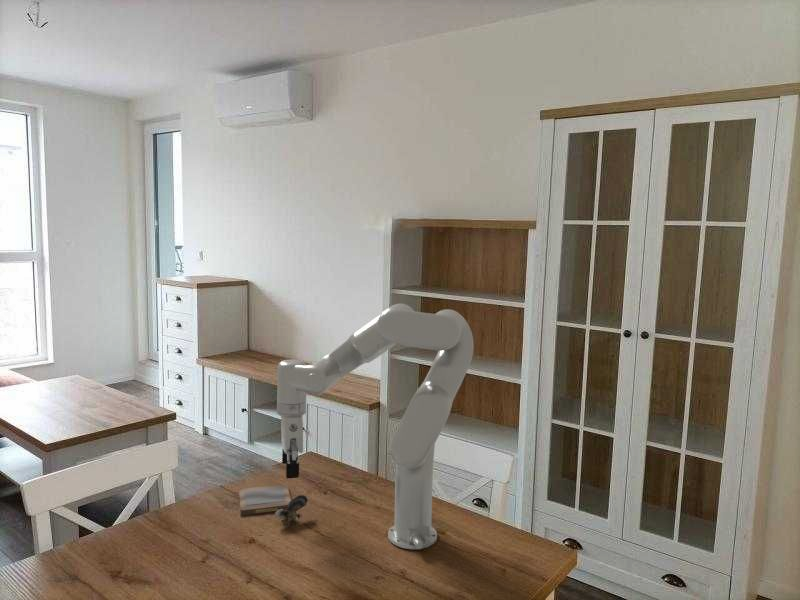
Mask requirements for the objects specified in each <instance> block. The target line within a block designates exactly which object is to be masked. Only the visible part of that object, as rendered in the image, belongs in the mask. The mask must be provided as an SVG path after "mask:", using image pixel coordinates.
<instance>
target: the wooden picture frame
mask: <svg viewBox="0 0 800 600" xmlns="http://www.w3.org/2000/svg"><path fill="white" fill-rule="evenodd" d="M238 495H239V496H238V497H239V498H238V499H239V510H240V511H239V512H240V516H249V515H257V514H267V513H275V512H276V511H278V510H280V509H284V510H287V508H288V505H289V502H290V501H292V498H291V493H290V491H289V487H288V484H287V483H283V484H275V485H265V486H255V487H254V486H253V487H244V488H239V489H238Z"/></svg>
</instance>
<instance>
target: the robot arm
mask: <svg viewBox="0 0 800 600" xmlns="http://www.w3.org/2000/svg"><path fill="white" fill-rule="evenodd" d="M396 345H400V346H403V347H412V348H418V349H425V350H431V351H437V353H436V355H435V358H434V360H433V362H432V363H431V367H430V368H429V371H428V372H427V374H426V376H425V378H424V380H423V381H422V383H421V385H420V386H419V387H418V388H417V390H416V391H415V393H414V395H413V396H412V398H411V400H410V401H409V404H408V405H407V408H406V410H405V412H404V413H403V416H402V418H401V419H400V422H399V424H398V426H397V427H396V430H395V432H394V433H393V436H392V437H391V440H390V444H389V454H390V457H391V459H392V460H393V462H394V463H395V474H394V475H395V476H394V477H395V480H394V484H395V485H394V525H392V526H390V528H389V529H388V532H387V538H388V540H389V542H390V543H392V544H393V545H394V546H396V547H399V548H402V549H406V550H422V549H426V548H429V547H431V546H433V545H434V544H435V543H436V542H437V540H438V532H437V530H436V529H435V528H434V527H433V526H432V519H433V518H432V510H433V481H434V460H435V459H434V457H435V449H436V448H435V444H436V442H437V440H438V438H439V437H440V434H441V432H442V430H443V429H444V426H445V424H446V423H447V420H448V418H449V416H450V413H451V410H452V407H453V402H454V400H455V398H456V395H457V393H458V391H459V389H460V387H461V385H462V383H463V381H464V378H465V376H466V374H467V372H468V371H469V368H470V365H471V363H472V360H473V354H474V349H475V348H474V337H473V333H472V330H471V328H470V324H469V323H468V322H467V320H466V318H464V317H463V315H461V314H460V313H459V312H458V311H456V310H453V309H450V308H449V309H447V308H446V309H441V310H440V311H437V312H436V313H428V312H422V311H421V312H420V311H416V310H414V308H413V307H411V306H410V305H408V304H406V303H396V304H393V305H391V306H389V307H388V308H386V309H385V310H383V311H382V312H381V313H380V314H378V315H377V316H376V317H374V318H373V319H371V320H369V321H368V322H367V323H366V324H364V325H363V326H361V327H360V328H358V329H357V330H356V331H354V332H352V334H350V336H349V338H347V340H346V341H344V342H343V343H342V344H341V345H339V346H337V347H336V348H335V349H334V350H332V351H331V352H329V353H328V354H327V355H325V356H323V357H322V358H320V359H319V360H317V361H316V362H314V363H311V364H307V363H306V361H303V360H300V359H295V358H294V359H291V358H290V359H283V360H281V361H280V362H279V363H278V365H277V372H276V373H277V383H276V385H277V386H276V389H277V390H276V414H277V415H278V416H281V417H280V435H281V439H280V440H281V445H282V449H281V450H282V454H281V456H282V457H281V462H282V463H281V464H285V467H286V468H285V477H286V479H297V478H299V477H300V457H299V453H301V454H302V453H304V422H303V421H304V419H303V416H304V415H306V413H307V393H308V394H312V395H321V394H324V393H326V392H327V391H328V390H329V389H330V388H332V387H333V385H335V384H336V383H337V382H339V381H340V380H341V379H343V378H344V377H346V376H348V375H349V374H350V373H351V372H353V371H354V370H356V369H358V367H361V366H362V365H364V364H369V363H371V362H372V361H374V360H375V359H377V358H379V357H380V356H381V355H383V354H384V353H385V352H387V351H389V350H390V349H392V348H393V347H395V346H396Z"/></svg>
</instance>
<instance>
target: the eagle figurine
mask: <svg viewBox="0 0 800 600" xmlns="http://www.w3.org/2000/svg"><path fill="white" fill-rule="evenodd" d="M308 500H309V499H308V498H307V496H306V495H304V494H301V495H298V496H296V497H294V498H292V499H291V501H290V502H289V505H288V508H287V510H284V509H280V510H278V511H276V512H274V515H275V516H276V517H277V518H278V517H283V518H284V519H282V520H281V523H285V525H284V529H286V528H288V526H289V525H290V524H291V521H295V522H297V523H298V524H300V518H298V516H299V515H300V513H299V512H297V511H299V510H301V509H302V508H304V507H306V506H307V503H308Z"/></svg>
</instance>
